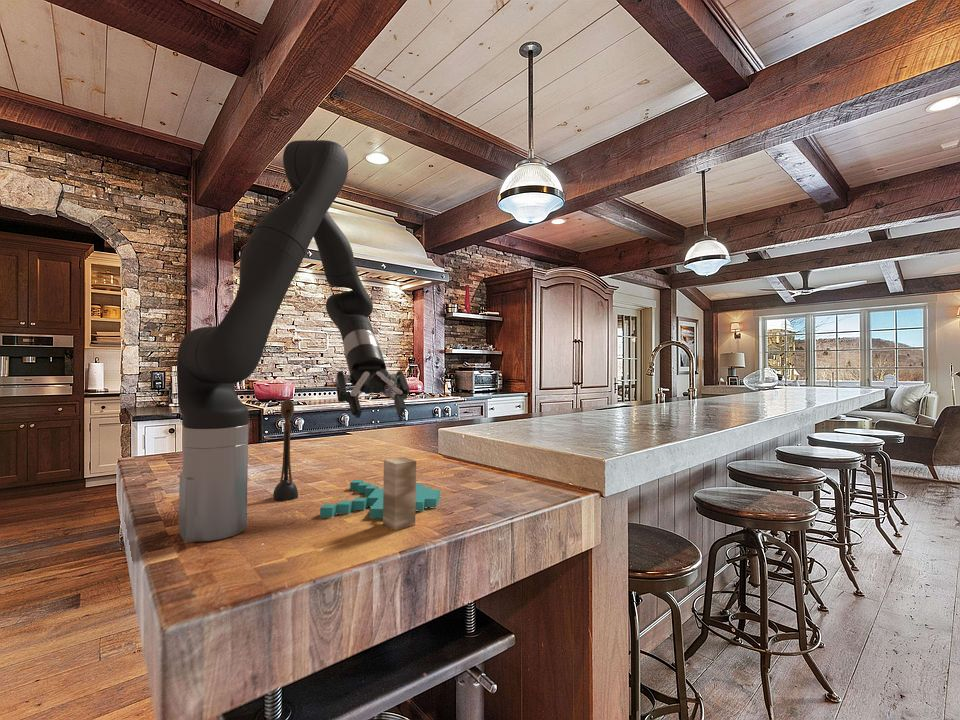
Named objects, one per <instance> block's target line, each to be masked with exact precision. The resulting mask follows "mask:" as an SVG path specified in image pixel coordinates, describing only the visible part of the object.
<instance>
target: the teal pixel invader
mask: <svg viewBox="0 0 960 720" xmlns="http://www.w3.org/2000/svg"><path fill="white" fill-rule="evenodd" d="M349 483H350V487H349V491H350V490H357V491H356V493H365V494H364V497H355V498H354V499H353V500H340V501H339V502H337V504H336V503H331V504H330V503H324V504H323V505H322V506H320V509H319V511H320V512H319V518H321V519H329V518H328V517H333V516H334V515H335V514H336V513H344V514H343V515H350V514H351V512H353V511H357V510H364V509H365V508H366V507H367V506H372V507H369V519H370V518H379V519H378V520H383V488H379V485H372V483H371V482H364V479H353V480H352V481H350V482H349ZM365 496H368V497H365ZM439 499H440V500H441V489H432V486H423V484H422V483H416V510H418V511H423V510H424V511H425V509H426V508H425V507H437V508H438V505H439V503H440V500H439ZM437 504H438V505H437ZM367 508H368V507H367ZM367 508H366V509H367ZM424 508H425V509H424ZM366 509H365V510H366ZM365 510H364V511H365ZM416 510H415V511H416ZM424 511H423V512H424ZM336 515H337V514H336ZM336 515H335V516H336ZM335 516H334V517H335ZM326 517H327V518H326ZM334 517H333V518H334ZM380 518H382V519H380Z"/></svg>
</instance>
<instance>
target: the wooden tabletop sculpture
mask: <svg viewBox="0 0 960 720" xmlns="http://www.w3.org/2000/svg"><path fill="white" fill-rule="evenodd" d="M280 405H281V406H280V414H281V417H282V418H283V419H284V423H282V425H283V448H282V449H283V451H282V453H283V454H282V466H281V467H282V468H281V475H280V482H279V483H278V484H277V485H276V486H275V488H274V489H273V495H272V500H273V499H274V500H273V501H276V500H277V501H276V502H287V500H288V501H293V499H294V500H295V499H298V497H299V492H298V488H297V485H296V484H295V483H294V482H293V477H292V467H291V466H292V465H291V425H292V423H291V422H290V418H292V417H293V415H294V412H295V405H294V402H293V401H292V400H291V399H284V400H283V401H282V403H281V404H280Z"/></svg>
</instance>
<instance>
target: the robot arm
mask: <svg viewBox="0 0 960 720" xmlns="http://www.w3.org/2000/svg"><path fill="white" fill-rule="evenodd" d="M282 164H283V169H284V173H285V174H286V176H285V177H287V182H288V183H289V185H290V188H291V190H292V192H293V194H292V195H291V196H290V197H289V198H287V199H286V200H284V201H283V202H281V203H280V204H279V205H277V206H276V207H274V208H273V209H272V210H270V211H269V212H268V213H266V214H265V215H264V216H263V217H262V218H261V219H260V220H259V221H258V222H257V224H256V225H255V227H254V228H253V231H252V233H251V235H250V236H249V238H248V240H247V242H246V244H245V245H244V248H243V249H242V252H241V257H240V261H239V284H238V290H237V292H236V296H235V298H234V300H233V302H232V304H231V305H230V308H229V309H228V310H227V312H226V314H225V315H224V317H223V319H222V320H221V321H220V323H219V324H218V325H217V326H204V327H199V328H195V329H192V330H190V331H189V332H188V333H187V334H185V336H183V338H182V339H181V342H180V344H179V346H178V350H177V356H176V381H177V382H176V383H177V384H176V385H177V386H176V387H177V403H178V407H179V408H178V409H179V410H180V413H181V414H182V420H183V422H182V424H183V425H182V468H181V469H182V471H181V472H180V474H179V483H178V484H179V487H178V488H179V491H178V493H179V496H178V534H179V535H180V538H181V539H182V542H183V543H185V544H187V543H191V542H210V541H211V542H212V541H218V540H222V539H227V538H230V537H234V536H236V535H238V534H240V533H242V532H244V531H245V530H246V529H247V526H248V522H247V521H248V481H249V479H248V475H249V474H248V470H249V468H248V466H249V465H248V464H249V461H248V460H249V421H250V420H249V419H250V418H249V417H250V415H249V408H248V407H247V406H246V405H245V404H244V403H243V402H242V401H241V400H240V398H239V397H238V395H237V392H236V384H237V383H240V382H243V381H244V380H246V379H248V378H249V377H250V376H252V374H253V373H254V371H255V370H256V369H257V367H258V365H259V363H260V361H261V358H262V356H263V353H264V350H265V348H266V345H267V341H268V339H269V336H270V334H271V333H270V332H271V329H272V327H273V324H274V321H275V319H276V316H277V314H278V312H279V309H280V308H281V305H282V303H283V301H284V300H285V296H286V295H287V293H288V290H289V288H290V286H291V284H292V281H293V280H294V277H295V276H296V275H297V272H298V270H299V268H300V267H301V264H302V262H303V260H304V257H305V256H306V253H307V250H308V249H309V246H310V244H311V242H312V240H313V239H314V242H315V245H316V247H317V250H318V253H319V258H320V261H321V265H322V268H323V272H324V275H325V279H326V282H327V284H328V285H330V286H331V287H334V288H348V289H350V290H348V291H344V292H338V293H335V294H331V295H330V296H328V298H327V299H326V302H325V309H326V310H325V311H326V313H327V315H328V317H329V318H330V320H331V321H332V323H333V324H334V326H336V328H337V329H338V330H339V334H340V336H341V341H342V344H343V352H344V353H343V354H344V358H345V361H346V364H347V367H348V373H349V374H344V372H343V371H338V372H337V373H336V377H335V380H334V381H335V388H336V395H337V401H338V402H339V403H343V402H347V403H348V405H349V408H350V413H351V415H352V416H354V417H355V419H360V418H361V416H362V407H361V404H360V401H359V397H360V396H361V395H362V393H364V394H365V395H370V394H382V395H384V397H386V398H388V397H389V398H390V399H392V400H393V401H394V402H393V404H394V407H395V410H396V414H397V416H403V414H404V413H405V411H406V408H407V405H406V403H405V400H407V398H408V396H409V393H410V392H411V388H410V387H409V384H408V382H407V379H406V377H405V375H404V372H403V371H402V370H397V372H396V373H390V372H389V371H388V370H387V366H386V363H385V360H384V357H383V356H384V355H383V353H382V350H381V346H380V343H379V340H377V338H376V335H375V332H374V330H373V325H372V323H371V321H370V319H369V318H368V317H370V316H371V315H372V313H373V309H374V303H373V300H372V298H371V297H370V295H369V293H368V292H367V289H366V288H365V286H364V285H363V283H362V281H361V279H360V277H359V276H360V275H359V272H358V269H357V265H356V262H355V257H354V252H353V250H352V246H351V243H350V241H349V240H348V238H347V236H346V235H345V233H344V232H343V231H342V229H341V228H340V227H339V225H338V224H337V223H336V222H335V220H334V219H333V218H332V216H331V215H330V213H329V212H328V211H329V209H330V207H331V206H332V204H333V203H334V202H335V200H336V198H337V197H338V195H339V194H340V192H341V191H342V189H343V188H344V186H345V183H346V181H347V178H348V173H349V158H348V154H347V152H346V150H345V149H344V147H343V146H341V144H339V143H337V142H335V141H332V140H328V139H327V140H326V139H325V140H324V139H321V140H317V139H316V140H315V139H313V140H311V139H310V140H308V139H307V140H306V139H303V140H292V141H290V142H289V143H288V144H287V145H286V147H285V148H284V150H283V155H282ZM348 382H349V383H350V384H352V386H354V387H353V388H352V390H351V391H350V392H349V391H347V388H346V387H347V386H346V385H347V384H348ZM386 387H387V388H386Z"/></svg>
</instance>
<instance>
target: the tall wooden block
mask: <svg viewBox="0 0 960 720" xmlns="http://www.w3.org/2000/svg"><path fill="white" fill-rule="evenodd" d="M416 484H417V460H414V459H411V458H408V457H404V456H402V457H395V458H388V459H384V460H383V488H382V489H383V519H382V524H383V525H384V526H386V527H388V528H389V529H391V528H392V530H393V529H394V530H393V531H397V529H398V530H401V528H402V529H406V528H409V527H408V526H410V527H412V526H411V525H414V526H416V512H415V510H416ZM405 527H406V528H405Z"/></svg>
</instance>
